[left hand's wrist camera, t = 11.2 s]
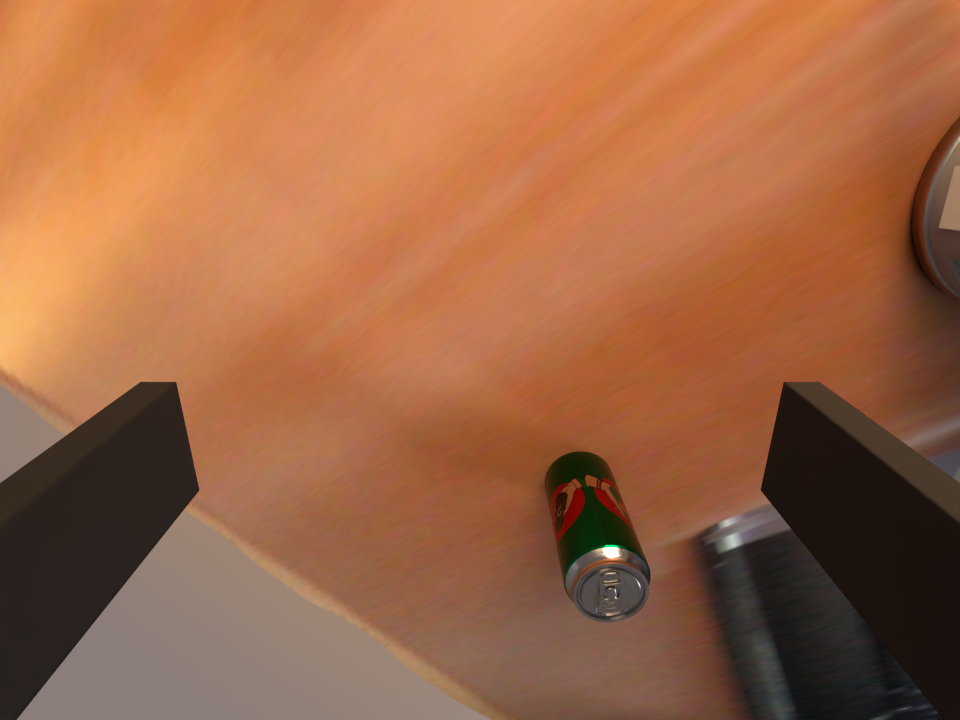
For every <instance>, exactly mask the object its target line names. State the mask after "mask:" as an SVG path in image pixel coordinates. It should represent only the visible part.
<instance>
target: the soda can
mask: <svg viewBox="0 0 960 720" xmlns="http://www.w3.org/2000/svg"><path fill="white" fill-rule="evenodd" d="M545 486H546V492H547V497H548V502H549V507H550V513H551V518H552V523H553V529H554V534H555V539H556V545H557V550H558V555H559V561H560V566H561V571H562V577H563V582H564V587H565V591H566V593H567V595H568V596H569V598H570V599H571V600H572V601H573V602H574V603H575V605H576V607H577V608H578V610H579V611H580V612H581V613H582V614H584V615H585V616H586V617H588V618H590V619H593V620H596V621H600V622H615V621H620V620H624V619H626V618H629V617H631V616H632V615H634V614H635V613H637V612H638V611H639V610H640V609H641V608H642V607H643V605H644V604H645V602H646V600H647V598H648V594H649V583H650V569H649V566H648V564H647V561H646V558H645V556H644V553H643V551H642V548H641V546H640V543H639V541H638V538H637V536H636V533H635V530H634V528H633V525H632V523H631V520H630V518H629V515H628V513H627V510H626V508H625V505H624V503H623V500H622V497H621V495H620V492H619V490H618V487H617V485H616V482H615V480H614V477H613V475H612V472H611V469H610V467H609V466H608V464H607V463H606V462H605V461H604V460H603V459H602V458H601V457H599V456H597V455H595V454H593V453H589V452H572V453H569V454H566V455H564V456H562V457H560V458H558V459H557V460H556V461H555V462H554V463H553V464H552V465H551V466H550V468H549V469H548V471H547V474H546V478H545Z"/></svg>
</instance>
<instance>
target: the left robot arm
mask: <svg viewBox="0 0 960 720" xmlns="http://www.w3.org/2000/svg"><path fill="white" fill-rule="evenodd" d="M912 232H913V241H914V247H915V250H916V254H917V257H918V259H919V262H920V264H921V266H922V268H923V270H924V272H925V273H926V275H927V276H928V277H929V279H930V280H931V281H932V282H933V283H934V284H935V285H936V286H937V287H938V288H939V289H940V290H941V291H943V292H944V293H945V294H947V295H948V296H950V297H952V298H953V299H955V300H958V301H960V117H959V118H958V119H957V121H956V122H955V123H954V124H953V125H952V126H951V128H950V129H949V130H948V132H947V133H946V134H945V135H944V137H943V138H942V140H941V141H940V143H939V144H938V146H937V147H936V149H935V151H934V152H933V154H932V156H931V158H930V160H929V162H928V164H927V166H926V168H925V170H924V173H923V175H922V178H921V180H920V183H919V186H918V189H917V193H916V197H915V202H914V208H913V218H912ZM198 491H199V487H198V482H197V477H196V473H195V468H194V463H193V459H192V454H191V449H190V445H189V440H188V435H187V431H186V426H185V421H184V417H183V412H182V407H181V403H180V398H179V393H178V389H177V384H176V382H140V383H139V384H137V385H136V386H135V387H133V388H132V389H130V390H129V391H128V392H126V393H125V394H123V395H122V396H121V397H119V398H118V399H116V400H115V401H114V402H112V403H111V404H110V405H108V406H107V407H105V408H104V409H103V410H101V411H100V412H98V413H97V414H96V415H94V416H93V417H91V418H90V419H89V420H87V421H86V422H85V423H83V424H82V425H80V426H79V427H78V428H76V429H75V430H73V431H72V432H71V433H69V434H68V435H66V436H65V437H64V438H62V439H61V440H60V441H58V442H57V443H55V444H54V445H53V446H51V447H50V448H48V449H47V450H46V451H44V452H43V453H41V454H40V455H39V456H37V457H36V458H35V459H33V460H32V461H30V462H29V463H28V464H26V465H25V466H24V467H22V468H21V469H19V470H18V471H16V472H15V473H14V474H12V475H11V476H10V477H8V478H7V479H5V480H4V481H3V482H1V483H0V720H17V718H18V717H19V716H20V715H21V713H22V712H23V711H24V710H25V708H26V707H27V706H28V705H29V703H30V702H31V701H32V699H33V698H34V697H35V696H36V695H37V693H38V692H39V691H40V690H41V688H42V687H43V686H44V684H45V683H46V682H47V681H48V679H49V678H50V677H51V676H52V674H53V673H54V672H55V671H56V669H57V668H58V667H59V666H60V664H61V663H62V662H63V661H64V659H65V658H66V657H67V656H68V654H69V653H70V652H71V651H72V649H73V648H74V647H75V646H76V644H77V643H78V642H79V641H80V639H81V638H82V637H83V636H84V634H85V633H86V632H87V631H88V629H89V628H90V627H91V625H92V624H93V623H94V622H95V620H96V619H97V618H98V617H99V615H100V614H101V613H102V612H103V610H104V609H105V608H106V607H107V605H108V604H109V603H110V602H111V600H112V599H113V598H114V597H115V595H116V594H117V593H118V592H119V590H120V589H121V588H122V587H123V585H124V584H125V583H126V582H127V580H128V579H129V578H130V577H131V575H132V574H133V573H134V571H135V570H136V569H137V568H138V566H139V565H140V564H141V563H142V561H143V560H144V559H145V558H146V556H147V555H148V554H149V553H150V551H151V550H152V549H153V548H154V546H155V545H156V544H157V543H158V541H159V540H160V539H161V538H162V536H163V535H164V534H165V533H166V531H167V530H168V529H169V527H170V526H171V525H172V524H173V523H174V521H175V520H176V519H177V518H178V516H179V515H180V514H181V512H182V511H183V510H184V509H185V507H186V506H187V505H188V504H189V502H190V501H191V500H192V499H193V497H194V496H195V495H196V494H197V492H198ZM761 491H762V492H763V494H764V495H765V496H766V497H767V499H768V500H769V501H770V502H771V504H772V505H773V506H774V507H775V509H776V510H777V511H778V512H779V514H780V515H781V516H782V518H783V519H784V520H785V521H786V523H787V524H788V525H789V526H790V528H791V529H792V530H793V531H794V533H795V534H796V535H797V536H798V538H799V539H800V540H801V541H802V543H803V544H804V545H805V546H806V548H807V549H808V550H809V551H810V553H811V554H812V555H813V556H814V558H815V559H816V560H817V561H818V563H819V564H820V565H821V566H822V568H823V569H824V570H825V571H826V573H827V574H828V575H829V577H830V578H831V579H832V580H833V582H834V583H835V584H836V585H837V587H838V588H839V589H840V590H841V592H842V593H843V594H844V595H845V597H846V598H847V599H848V600H849V602H850V603H851V604H852V605H853V607H854V608H855V609H856V610H857V612H858V613H859V614H860V615H861V617H862V618H863V619H864V620H865V622H866V623H867V624H868V625H869V627H870V628H871V629H872V631H873V632H874V633H875V634H876V636H877V637H878V638H879V639H880V641H881V642H882V643H883V644H884V646H885V647H886V648H887V649H888V651H889V652H890V653H891V654H892V656H893V657H894V658H895V659H896V661H897V662H898V663H899V664H900V666H901V667H902V668H903V669H904V671H905V672H906V673H907V674H908V676H909V677H910V678H911V679H912V681H913V682H914V683H915V684H916V686H917V687H918V688H919V690H920V691H921V692H922V693H923V695H924V696H925V697H926V698H927V700H928V701H929V702H930V703H931V705H932V706H933V707H934V708H935V710H936V711H937V712H938V713H939V715H940V716H941V717H942V718H943V720H960V483H959V482H957V481H956V480H955V479H953V478H952V477H950V476H949V475H948V474H946V473H945V472H944V471H942V470H941V469H939V468H938V467H937V466H935V465H934V464H932V463H931V462H930V461H928V460H927V459H925V458H924V457H923V456H921V455H920V454H919V453H917V452H916V451H914V450H913V449H912V448H910V447H909V446H907V445H906V444H905V443H903V442H902V441H900V440H899V439H898V438H896V437H895V436H894V435H892V434H891V433H889V432H888V431H887V430H885V429H884V428H882V427H881V426H880V425H878V424H877V423H875V422H874V421H873V420H871V419H870V418H869V417H867V416H866V415H864V414H863V413H862V412H860V411H859V410H857V409H856V408H855V407H853V406H852V405H850V404H849V403H848V402H846V401H845V400H844V399H842V398H841V397H839V396H838V395H837V394H835V393H834V392H832V391H831V390H830V389H828V388H827V387H825V386H824V385H823V384H821V383H820V382H784V384H783V389H782V393H781V398H780V403H779V407H778V412H777V417H776V421H775V426H774V431H773V435H772V440H771V445H770V449H769V454H768V459H767V463H766V468H765V473H764V477H763V482H762V487H761Z"/></svg>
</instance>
